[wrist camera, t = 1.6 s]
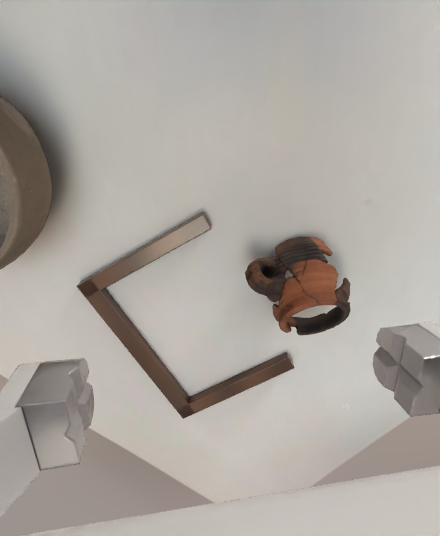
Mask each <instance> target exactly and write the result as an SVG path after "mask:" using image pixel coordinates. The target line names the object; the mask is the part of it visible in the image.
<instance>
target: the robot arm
mask: <svg viewBox="0 0 440 536" xmlns="http://www.w3.org/2000/svg"><path fill="white" fill-rule="evenodd" d="M376 341H377V343H378V345H379V346H380V348H379V349H378V350H377V351H376V352H375V354H374V358H373V368H374V372H375V375H376V377H377V379H378V381H379V382H380V383H381V384H382V385H383V386H384V387H385V388H387V389H389V390H391V391H393V392H394V399H395V400H396V401H397V402H398V403H399V404H400V405H401V407H402V408H403V409H404V410H405V411H406V412H407V413H408V414H409V415H410V417H412V416H421V415H430V414H439V413H440V326H439V325H438V324H436V323H433V322H424V323H417V324H412V325H404V326H396V327H387V328H381V329H380V330H379V332H378V334H377V339H376ZM88 374H89V369H88V365H87V361H86V360H85V359H84V358H82V359H70V360H58V361H46V362H35V363H26V364H21V365H19V366H18V367H17V368H16V370H15V371H14V372H13V374H12V375H11V377H10V378H9V380H8V381H7V383H6V384H5V386H4V387H3V389H2V390H1V392H0V518H1V516H2V515H3V514H4V513H5V512H6V511H7V510H8V509H9V507H10V506H11V505H12V504H13V503H14V502H15V501H16V500H17V498H18V497H19V496H20V495H21V494H22V493H23V492H24V491H25V489H26V488H27V487H28V486H29V485H30V484H31V483H32V481H34V479H35V478H36V477H37V476H38V475H39V474H40V471H41V470H46V469H52V468H58V467H64V466H69V465H76V464H80V461H81V457H82V454H83V450H84V447H85V443H86V435H85V429H86V428H88V427H89V426H90V425H91V421H92V417H93V409H94V396H93V389H92V386H91V385H90V384H89V383H87V382H86V380H87V377H88ZM20 536H440V466H435V467H429V468H423V469H417V470H411V471H405V472H399V473H393V474H387V475H381V476H375V477H368V478H363V479H357V480H350V481H344V482H338V483H333V484H326V485H320V486H315V487H308V488H302V489H296V490H290V491H284V492H278V493H272V494H266V495H260V496H254V497H248V498H242V499H236V500H230V501H224V502H218V503H212V504H206V505H201V506H195V507H188V508H182V509H176V510H171V511H164V512H159V513H152V514H146V515H140V516H134V517H128V518H122V519H116V520H111V521H104V522H98V523H92V524H86V525H80V526H74V527H68V528H62V529H57V530H50V531H44V532H39V533H32V534H26V535H20Z"/></svg>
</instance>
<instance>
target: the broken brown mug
mask: <svg viewBox="0 0 440 536" xmlns="http://www.w3.org/2000/svg"><path fill="white" fill-rule="evenodd" d="M323 254H326V255H328V256H331V255H332V251H331V250H330V249H329V248H328V247H327V246H326V245H325V243H324V242H323V241H321V240H320V239H317V238H311V237H310V238H309V237H298V238H294V239H290V240H287V241H285V242H284V243H282V244H280V245H278V246H277V247H276V257H270V258H260V259H257V260H255V261H253V262H251V263H250V264H249V266H248V268H247V271H246V272H245V275H246V279H247V282H248V284H249V286H250V287H251V288H252V289H253V290H254V291H255V292H257V293H259V294H263V295H265V296H267V298H268V299H269V300H270V301H272V302H276V301H278V300H279V305H277V304H274V305H273V315H274V317H275V319H276V320H277V321H278V322H279V327H280V329H281V330H283V331H284V332H286V333H288V332H290V331H291V327H296V329H297V333H298V335H310V334H315V333H320V332H323V331H326V330H328V329H331V328H334V327H335V326H337V325H339V324H340V323H342V322H343V321H344V320H345V319H346V318H347V317H348V315H349V313H350V303H349V302H348V299H349V295H350V283H349V281H348V279H347V278H344V279H343V284H342V285H341V286H340V287H339V288H338V289H336V290H335V288H336V283H337V278H338V273H337V271H336V269H335V268H334V267H333V266H331V265H329V264H327V263H328V261H327V259H326V257H325V256H324V255H323ZM287 270H289V271H290V272H291V273H292V274H293V276H292V277H288V278H287V279H286V277H285V276H284V275H285V273H286V271H287ZM317 305H336V306H337V307H335V308H334V309H332V310H331V311H329V312H328V313H327V314H325V313H323V314H320V315H317V316H314V317H311V318H300V317H292V316H293V315H294V314H296V313H298V312H300V311H302V310H304V309H307V308H310V307H314V306H317Z"/></svg>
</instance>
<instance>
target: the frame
mask: <svg viewBox="0 0 440 536" xmlns="http://www.w3.org/2000/svg"><path fill="white" fill-rule="evenodd" d="M210 229H211V224H210V222H209V220H208V219H207V217H206V215H205V214H204V212H202V213H200V214H198V215H197V216H195V217H193V218H191V219H190V220H188V221H186V222H184V223H183V224H181V225H179V226H177V227H176V228H174V229H172V230H170V231H169V232H167V233H165V234H163V235H162V236H160V237H158V238H156V239H155V240H153V241H151V242H149V243H148V244H146V245H144V246H143V247H141V248H139V249H137V250H136V251H134V252H132V253H130V254H129V255H127V256H125V257H123V258H122V259H120V260H118V261H116V262H115V263H113V264H111V265H109V266H108V267H106V268H104V269H102V270H101V271H99V272H97V273H95V274H94V275H92V276H90V277H88V278H87V279H85V280H83V281H81V282H80V283H79V284H78V285H77V287H78V289H79V290H80V291H81V292H82V294H83V295H84V296H85V297H86V299H87V300H88V301H89V302H90V303H91V305H92V306H93V307H94V308H95V310H96V311H97V312H98V313H99V315H100V316H101V317H102V318H103V320H104V321H105V322H106V323H107V325H108V326H109V327H110V328H111V330H112V331H113V332H114V333H115V335H116V336H117V337H118V338H119V339H120V341H121V342H122V343H123V344H124V346H125V347H126V348H127V349H128V351H129V352H130V353H131V354H132V356H133V357H134V358H135V359H136V361H137V362H138V363H139V364H140V366H141V367H142V368H143V369H144V371H145V372H146V373H147V374H148V375H149V377H150V378H151V379H152V380H153V382H154V383H155V384H156V385H157V387H158V388H159V389H160V390H161V392H162V393H163V394H164V395H165V397H166V398H167V399H168V400H169V402H170V403H171V404H172V405H173V407H174V408H175V409H176V410H177V412H178V413H179V414H180V415H181V417H182V418H183V419H184V418H186V417H188V416H190V415H192V414H195V413H197V412H199V411H201V410H203V409H205V408H208V407H210V406H212V405H214V404H216V403H219V402H221V401H223V400H225V399H227V398H230V397H232V396H234V395H236V394H238V393H241V392H243V391H245V390H247V389H249V388H251V387H254V386H256V385H258V384H260V383H262V382H265V381H267V380H269V379H271V378H273V377H276V376H278V375H280V374H282V373H284V372H286V371H289V370H291V369H293V368H294V365H293V362H292V361H291V359H290V357H289V355H288V354H287V352H286V353H284V354H282V355H279V356H277V357H275V358H273V359H271V360H269V361H267V362H264V363H262V364H260V365H258V366H256V367H254V368H252V369H249V370H247V371H245V372H243V373H241V374H239V375H237V376H235V377H232V378H230V379H228V380H226V381H224V382H222V383H220V384H217V385H215V386H213V387H211V388H209V389H207V390H205V391H202V392H200V393H198V394H196V395H194V396H192V397H190V398H189V396H188V395H187V394H186V393H185V391H184V390H183V389H182V387H181V386H180V385H179V383H178V382H177V381H176V380H175V378H174V377H173V376H172V374H171V373H170V372H169V371H168V369H167V368H166V367H165V365H164V364H163V363H162V361H161V360H160V359H159V358H158V356H157V355H156V354H155V352H154V351H153V350H152V349H151V347H150V346H149V345H148V343H147V342H146V341H145V339H144V338H143V337H142V336H141V334H140V333H139V332H138V330H137V329H136V328H135V326H134V325H133V324H132V323H131V321H130V320H129V319H128V317H127V316H126V315H125V314H124V312H123V311H122V310H121V308H120V307H119V306H118V304H117V303H116V302H115V301H114V299H113V298H112V297H111V295H110V294H109V293H108V291H107V290H106V289H105V288H106V287H108V286H110V285H111V284H113V283H115V282H117V281H119V280H120V279H122V278H124V277H126V276H127V275H129V274H131V273H133V272H135V271H136V270H138V269H140V268H142V267H144V266H145V265H147V264H149V263H151V262H152V261H154V260H156V259H158V258H160V257H161V256H163V255H165V254H167V253H169V252H170V251H172V250H174V249H176V248H177V247H179V246H181V245H183V244H185V243H186V242H188V241H190V240H192V239H193V238H195V237H197V236H199V235H201V234H202V233H204V232H206V231H208V230H210Z"/></svg>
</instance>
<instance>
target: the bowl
mask: <svg viewBox="0 0 440 536" xmlns="http://www.w3.org/2000/svg"><path fill="white" fill-rule="evenodd" d="M51 197H52V184H51V176H50V171H49V167H48V164H47V161H46V157H45V155H44V152H43V150H42V147H41V145H40V143H39V140H38V138H37V137H36V135H35V133H34V132H33V130H32V128H31V126H30V125H29V123H28V122H27V121H26V119H25V118H24V117H23V116H22V115H21V114H20V112H19V111H18V110H17V109H15V108H14V107H13V106H12V105H10V104H9V103H8V102H6V101H5V100H4V99H2V98H1V97H0V269H2V268H4V267H5V266H7V265H8V264H10V263H11V262H13V261H14V260H16V259H17V258H18V257H19V256H20V255H21V254H23V253H24V252H25V251H26V250H27V249H28V248H29V247H30V245H31V244H32V243H33V242H34V241H35V239H36V238H37V237H38V235H39V234H40V232H41V230H42V229H43V227H44V225H45V223H46V220H47V217H48V214H49V210H50V204H51Z"/></svg>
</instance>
